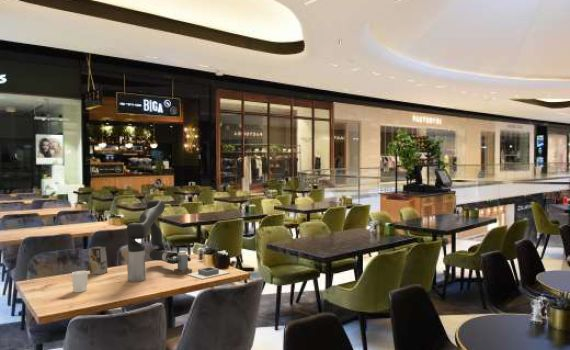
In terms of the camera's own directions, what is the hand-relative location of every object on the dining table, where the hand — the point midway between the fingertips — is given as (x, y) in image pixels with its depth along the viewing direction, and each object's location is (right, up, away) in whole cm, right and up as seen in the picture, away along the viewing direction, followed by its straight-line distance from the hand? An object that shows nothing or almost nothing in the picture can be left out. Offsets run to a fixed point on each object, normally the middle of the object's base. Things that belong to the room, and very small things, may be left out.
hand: (184, 260), depth 289 cm
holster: (-1, -7, +2) cm, 8 cm away
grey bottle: (-1, -7, +2) cm, 8 cm away
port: (+16, -7, -4) cm, 18 cm away
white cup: (-48, -10, -36) cm, 61 cm away
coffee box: (-55, -9, +5) cm, 56 cm away
